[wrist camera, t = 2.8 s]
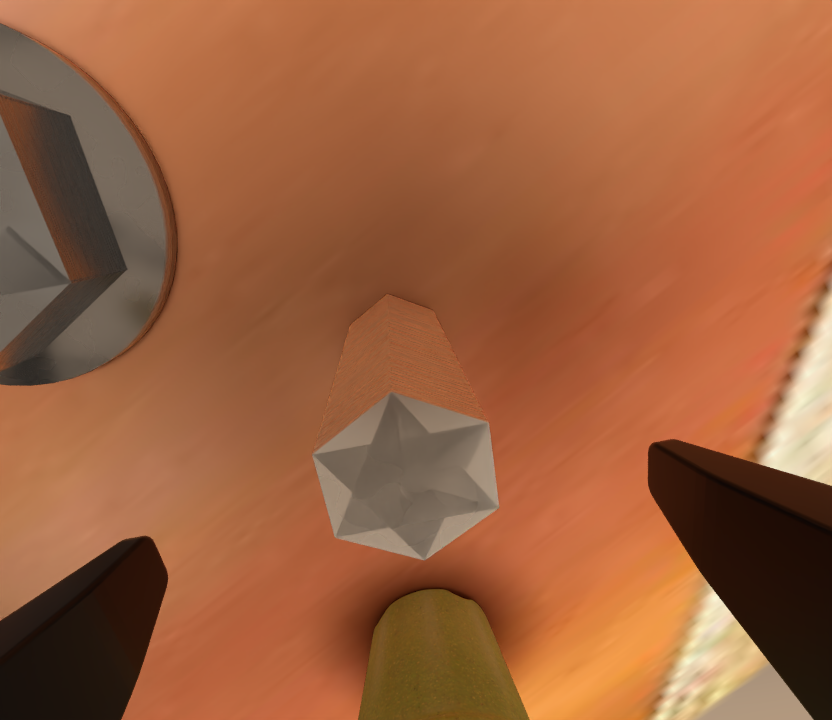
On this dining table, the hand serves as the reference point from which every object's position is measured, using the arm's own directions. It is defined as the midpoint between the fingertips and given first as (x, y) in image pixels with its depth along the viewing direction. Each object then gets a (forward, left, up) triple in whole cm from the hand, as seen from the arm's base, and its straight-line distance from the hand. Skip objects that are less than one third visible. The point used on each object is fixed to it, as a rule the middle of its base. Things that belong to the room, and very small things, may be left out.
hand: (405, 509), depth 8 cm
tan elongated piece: (0, 0, -11) cm, 11 cm away
